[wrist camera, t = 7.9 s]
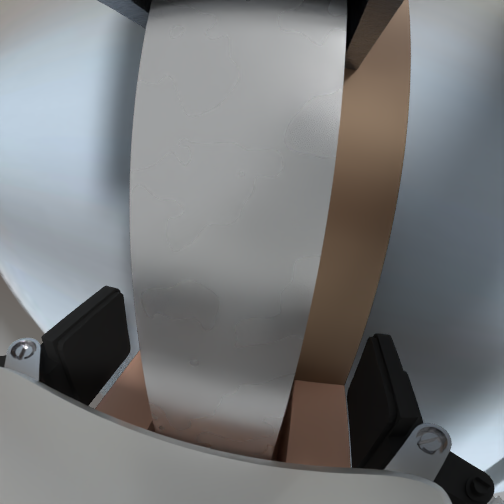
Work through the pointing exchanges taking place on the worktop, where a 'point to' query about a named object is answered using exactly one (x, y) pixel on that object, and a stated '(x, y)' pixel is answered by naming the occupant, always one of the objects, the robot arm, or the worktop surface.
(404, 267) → the worktop surface
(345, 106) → the base board
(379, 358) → the robot arm
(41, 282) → the worktop surface
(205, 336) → the light grey bar
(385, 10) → the sleeve
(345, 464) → the socket block
